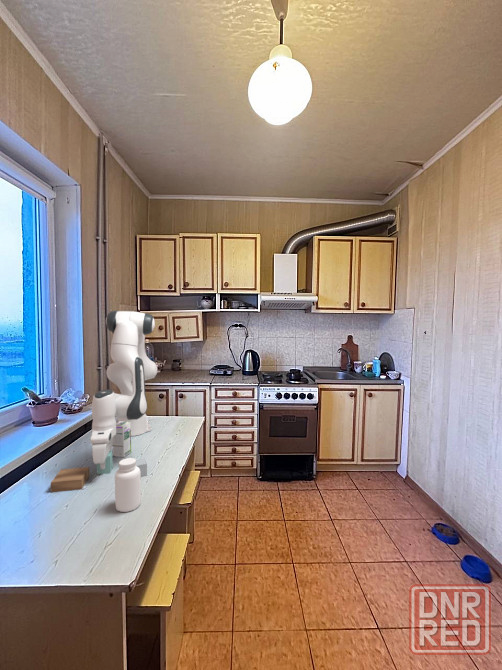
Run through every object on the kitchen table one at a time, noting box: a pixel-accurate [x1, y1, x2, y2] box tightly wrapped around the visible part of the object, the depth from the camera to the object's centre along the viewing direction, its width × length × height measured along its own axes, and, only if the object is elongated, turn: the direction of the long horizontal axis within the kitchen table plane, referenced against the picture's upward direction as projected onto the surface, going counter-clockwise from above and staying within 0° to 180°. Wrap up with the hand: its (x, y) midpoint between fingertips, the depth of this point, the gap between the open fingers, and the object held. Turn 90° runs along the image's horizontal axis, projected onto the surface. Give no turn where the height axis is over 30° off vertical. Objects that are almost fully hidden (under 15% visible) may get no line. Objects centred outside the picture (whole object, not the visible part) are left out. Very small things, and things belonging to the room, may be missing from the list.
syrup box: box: [112, 421, 132, 458], centre depth 142 cm, size 6×6×14 cm
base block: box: [50, 466, 90, 494], centre depth 116 cm, size 10×10×4 cm
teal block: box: [96, 450, 114, 475], centre depth 126 cm, size 5×5×7 cm
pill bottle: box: [114, 457, 142, 513], centre depth 103 cm, size 8×8×15 cm
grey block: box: [136, 458, 148, 478], centre depth 124 cm, size 5×5×5 cm
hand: (104, 464), depth 126 cm, fingers closed on teal block, 5 cm apart
